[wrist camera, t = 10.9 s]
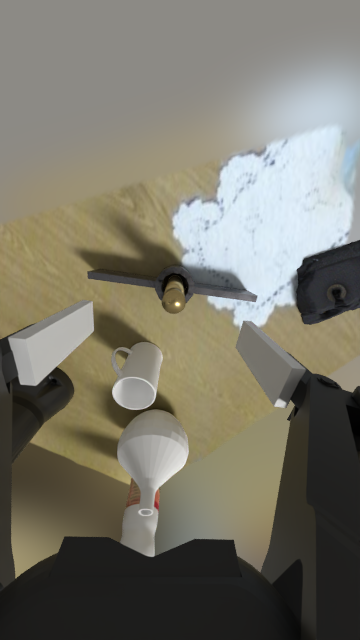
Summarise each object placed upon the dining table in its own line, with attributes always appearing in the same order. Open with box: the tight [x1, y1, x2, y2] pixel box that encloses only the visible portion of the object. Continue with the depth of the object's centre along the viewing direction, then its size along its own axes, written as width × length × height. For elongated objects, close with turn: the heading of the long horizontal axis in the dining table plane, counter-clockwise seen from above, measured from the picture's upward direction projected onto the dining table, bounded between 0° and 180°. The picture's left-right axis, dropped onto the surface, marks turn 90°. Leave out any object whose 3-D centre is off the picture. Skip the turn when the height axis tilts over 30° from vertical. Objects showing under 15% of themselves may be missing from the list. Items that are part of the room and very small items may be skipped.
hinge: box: [87, 265, 257, 303], centre depth 32 cm, size 31×7×5 cm, turn 82°
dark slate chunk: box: [296, 240, 360, 325], centre depth 33 cm, size 15×22×5 cm
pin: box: [162, 275, 186, 314], centre depth 28 cm, size 3×3×15 cm
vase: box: [117, 409, 189, 516], centre depth 41 cm, size 18×18×19 cm
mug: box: [111, 342, 163, 410], centre depth 36 cm, size 12×8×12 cm
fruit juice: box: [120, 478, 160, 557], centre depth 45 cm, size 9×9×28 cm
